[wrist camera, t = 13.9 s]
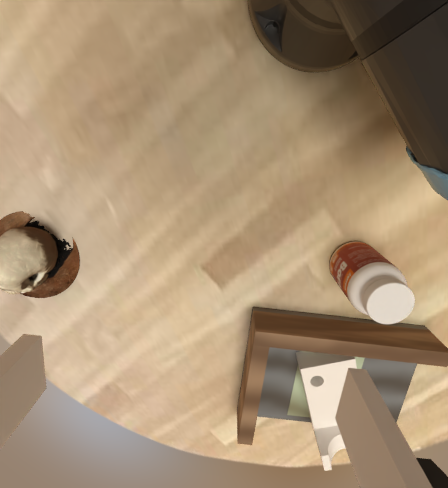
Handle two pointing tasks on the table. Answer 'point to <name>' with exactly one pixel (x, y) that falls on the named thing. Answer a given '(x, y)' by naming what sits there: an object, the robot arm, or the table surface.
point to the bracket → (324, 397)
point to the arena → (330, 342)
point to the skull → (34, 258)
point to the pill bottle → (372, 283)
